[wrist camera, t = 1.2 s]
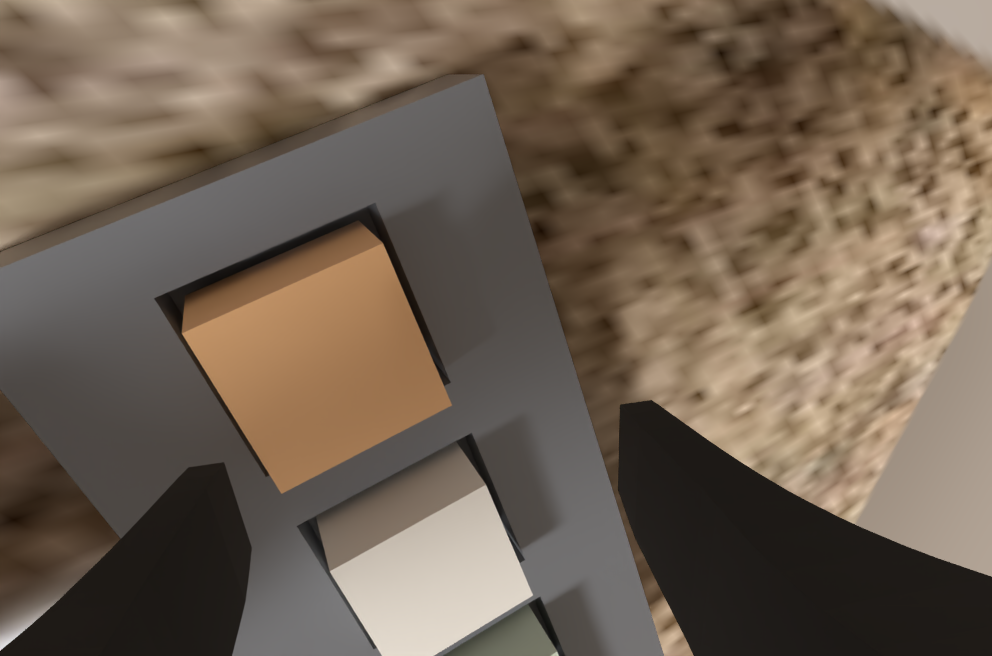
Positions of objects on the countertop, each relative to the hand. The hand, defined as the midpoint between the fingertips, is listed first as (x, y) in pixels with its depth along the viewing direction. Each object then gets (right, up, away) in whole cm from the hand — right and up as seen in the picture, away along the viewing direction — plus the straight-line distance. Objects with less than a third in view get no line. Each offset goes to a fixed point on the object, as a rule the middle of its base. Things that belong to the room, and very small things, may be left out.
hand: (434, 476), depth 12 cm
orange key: (-4, +3, +7) cm, 9 cm away
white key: (-2, -4, +12) cm, 12 cm away
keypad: (-2, -4, +12) cm, 13 cm away
